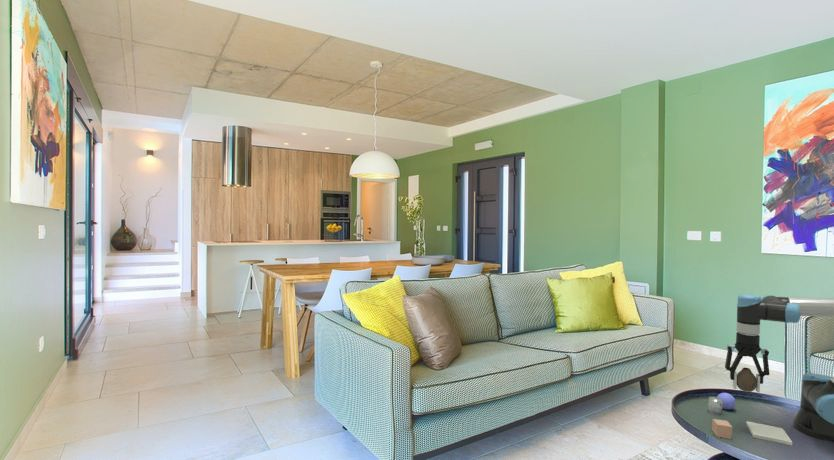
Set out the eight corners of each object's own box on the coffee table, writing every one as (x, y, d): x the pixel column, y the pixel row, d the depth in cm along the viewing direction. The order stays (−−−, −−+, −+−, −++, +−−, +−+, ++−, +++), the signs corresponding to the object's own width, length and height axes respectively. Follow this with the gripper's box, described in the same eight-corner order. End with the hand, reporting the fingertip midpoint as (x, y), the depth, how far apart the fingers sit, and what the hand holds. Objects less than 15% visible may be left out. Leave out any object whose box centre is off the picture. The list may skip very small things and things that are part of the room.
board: (782, 431, 178) (782, 428, 178) (792, 445, 167) (792, 442, 167) (746, 423, 183) (746, 421, 183) (753, 437, 173) (753, 434, 173)
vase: (760, 394, 174) (761, 372, 174) (740, 392, 176) (741, 370, 175) (750, 387, 181) (751, 366, 181) (732, 385, 182) (732, 365, 182)
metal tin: (720, 411, 194) (721, 398, 194) (722, 416, 190) (723, 402, 189) (707, 408, 196) (708, 395, 196) (709, 413, 192) (709, 400, 192)
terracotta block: (726, 433, 175) (727, 420, 175) (731, 439, 171) (732, 426, 170) (711, 430, 177) (712, 418, 177) (716, 437, 172) (717, 424, 172)
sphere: (730, 413, 192) (731, 398, 192) (712, 406, 199) (714, 391, 198) (738, 410, 196) (739, 395, 196) (721, 403, 202) (722, 389, 202)
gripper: (776, 333, 176) (774, 390, 177) (716, 328, 185) (715, 382, 186) (781, 338, 170) (779, 397, 171) (720, 332, 178) (718, 388, 179)
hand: (746, 389), depth 178 cm, fingers closed on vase, 7 cm apart
